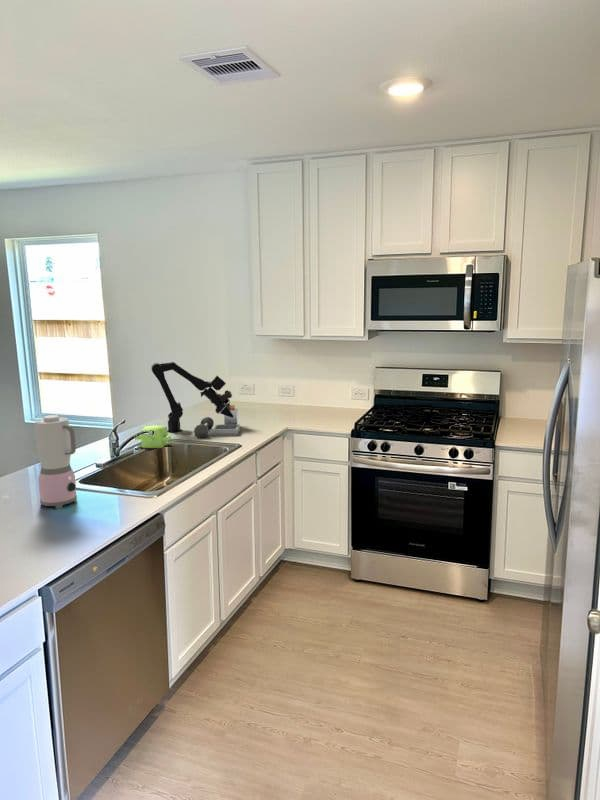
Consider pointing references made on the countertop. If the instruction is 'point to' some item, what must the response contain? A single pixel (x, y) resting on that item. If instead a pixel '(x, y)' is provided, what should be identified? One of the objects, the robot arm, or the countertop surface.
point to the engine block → (231, 420)
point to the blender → (55, 461)
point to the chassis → (215, 429)
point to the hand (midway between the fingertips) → (233, 416)
